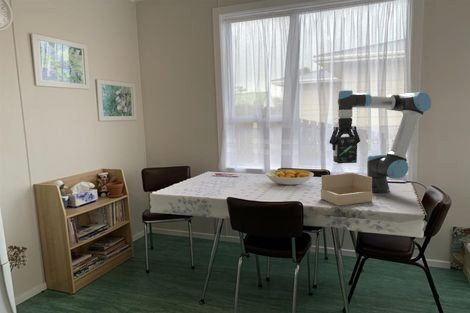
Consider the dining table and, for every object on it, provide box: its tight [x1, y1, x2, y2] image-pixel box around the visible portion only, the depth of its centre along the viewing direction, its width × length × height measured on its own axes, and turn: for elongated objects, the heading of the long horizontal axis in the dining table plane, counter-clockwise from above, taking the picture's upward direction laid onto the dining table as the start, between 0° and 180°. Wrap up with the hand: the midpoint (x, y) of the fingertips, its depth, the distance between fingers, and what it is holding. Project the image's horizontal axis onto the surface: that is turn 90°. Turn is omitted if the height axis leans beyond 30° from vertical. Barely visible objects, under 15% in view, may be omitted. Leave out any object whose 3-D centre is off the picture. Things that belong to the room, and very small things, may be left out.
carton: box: [320, 172, 373, 207], centre depth 194 cm, size 22×18×14 cm
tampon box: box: [332, 135, 358, 165], centre depth 191 cm, size 11×9×15 cm
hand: (344, 155), depth 192 cm, fingers closed on tampon box, 12 cm apart
